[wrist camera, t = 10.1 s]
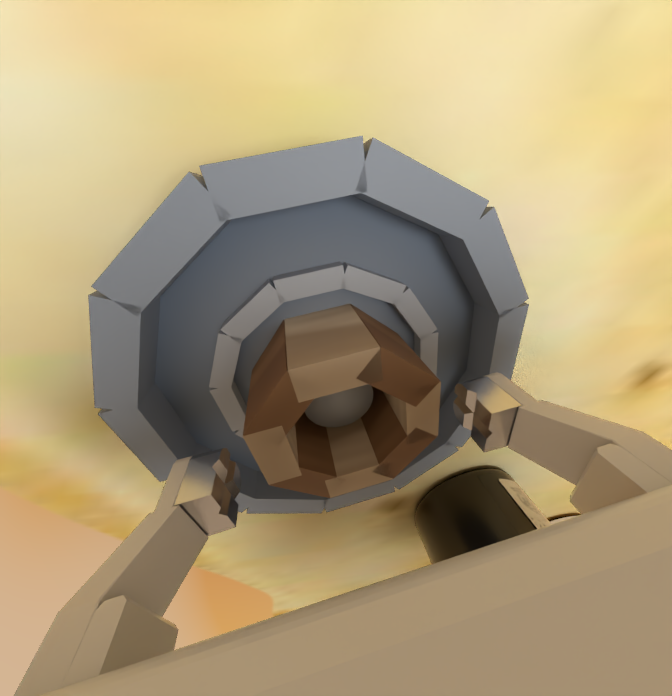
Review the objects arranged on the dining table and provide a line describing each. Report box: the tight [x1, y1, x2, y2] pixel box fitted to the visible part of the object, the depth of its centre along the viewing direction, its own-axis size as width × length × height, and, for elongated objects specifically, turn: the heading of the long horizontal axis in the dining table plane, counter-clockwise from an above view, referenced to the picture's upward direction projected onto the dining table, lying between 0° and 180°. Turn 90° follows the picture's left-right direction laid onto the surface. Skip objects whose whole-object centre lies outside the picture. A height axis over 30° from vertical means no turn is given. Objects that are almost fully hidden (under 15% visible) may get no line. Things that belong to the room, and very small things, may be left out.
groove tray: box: [88, 136, 529, 513], centre depth 11 cm, size 16×16×3 cm
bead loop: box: [243, 304, 441, 498], centre depth 10 cm, size 6×6×4 cm
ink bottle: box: [415, 469, 551, 564], centre depth 17 cm, size 10×9×12 cm
